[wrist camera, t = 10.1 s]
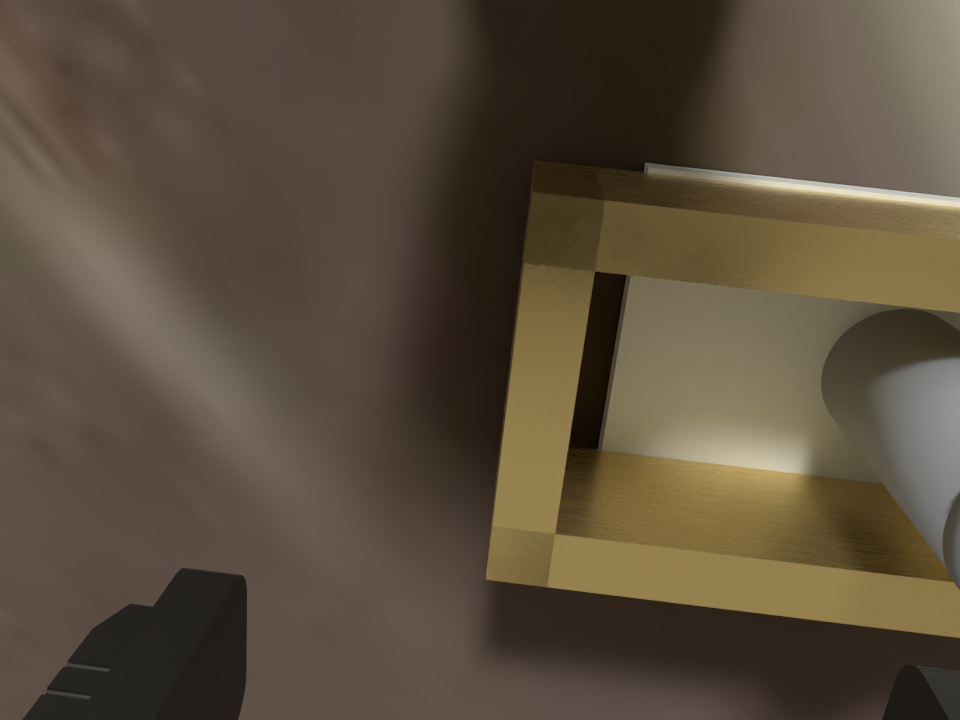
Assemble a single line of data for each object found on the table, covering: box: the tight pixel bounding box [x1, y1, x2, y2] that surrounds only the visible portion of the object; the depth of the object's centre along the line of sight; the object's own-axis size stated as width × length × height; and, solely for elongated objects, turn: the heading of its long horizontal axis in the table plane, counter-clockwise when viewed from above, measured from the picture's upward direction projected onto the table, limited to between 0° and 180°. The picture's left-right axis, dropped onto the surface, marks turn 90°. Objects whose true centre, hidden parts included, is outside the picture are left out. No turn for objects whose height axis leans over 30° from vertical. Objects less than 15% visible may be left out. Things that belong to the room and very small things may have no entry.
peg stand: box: [598, 163, 960, 590], centre depth 19 cm, size 14×9×9 cm, turn 84°
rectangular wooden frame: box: [486, 160, 960, 638], centre depth 20 cm, size 15×9×4 cm, turn 84°
